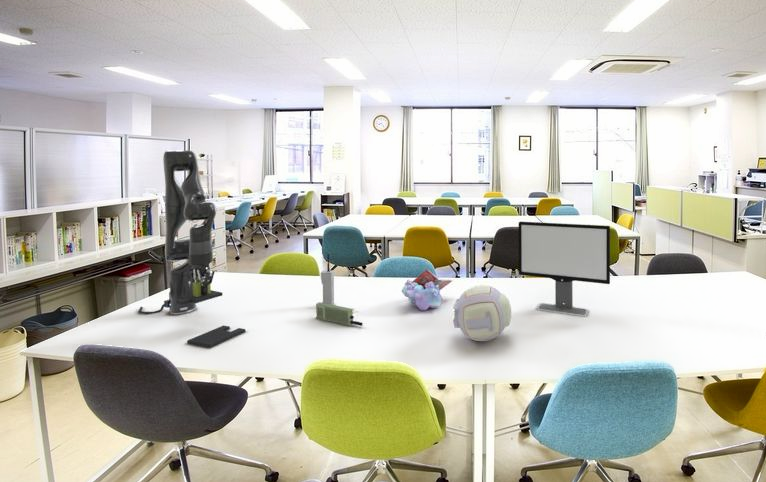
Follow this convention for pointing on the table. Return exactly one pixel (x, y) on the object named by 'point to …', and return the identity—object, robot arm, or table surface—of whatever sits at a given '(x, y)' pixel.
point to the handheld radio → (336, 314)
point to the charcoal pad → (215, 336)
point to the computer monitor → (564, 258)
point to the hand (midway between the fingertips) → (201, 293)
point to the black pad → (197, 299)
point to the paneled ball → (482, 313)
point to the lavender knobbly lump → (425, 290)
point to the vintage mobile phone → (328, 285)
